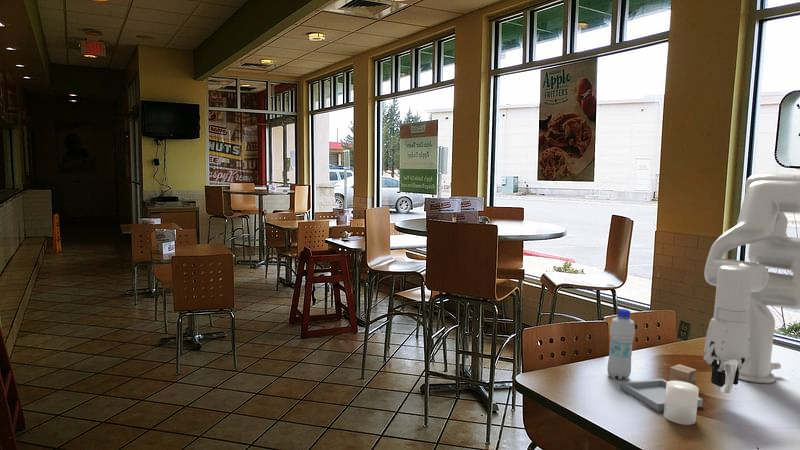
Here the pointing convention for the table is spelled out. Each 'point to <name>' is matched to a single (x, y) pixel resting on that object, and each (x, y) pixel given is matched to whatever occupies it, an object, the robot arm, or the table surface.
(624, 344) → the bottle
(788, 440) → the table surface
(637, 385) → the tray
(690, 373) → the walnut block
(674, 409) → the white squat cylinder
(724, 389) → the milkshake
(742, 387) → the table surface
